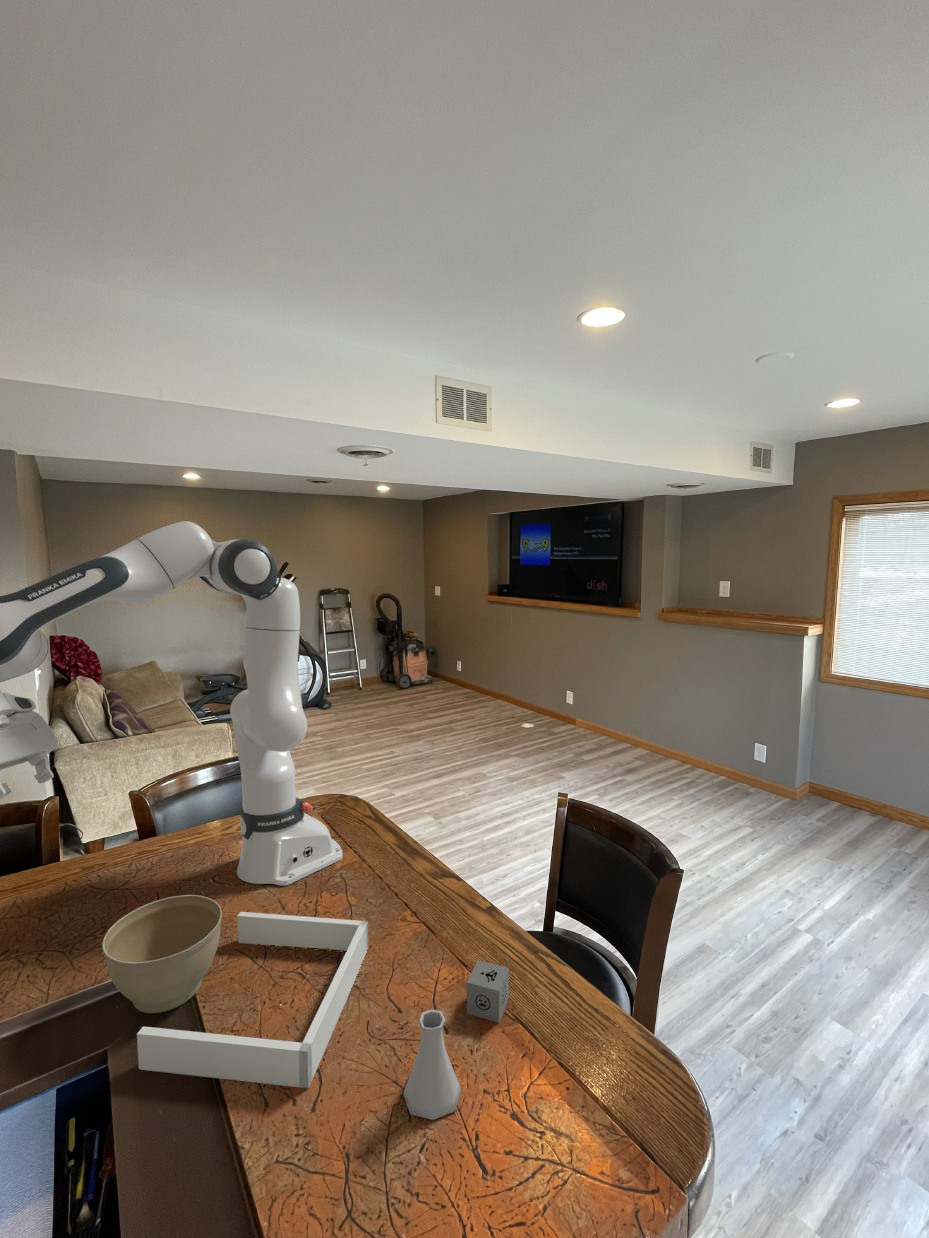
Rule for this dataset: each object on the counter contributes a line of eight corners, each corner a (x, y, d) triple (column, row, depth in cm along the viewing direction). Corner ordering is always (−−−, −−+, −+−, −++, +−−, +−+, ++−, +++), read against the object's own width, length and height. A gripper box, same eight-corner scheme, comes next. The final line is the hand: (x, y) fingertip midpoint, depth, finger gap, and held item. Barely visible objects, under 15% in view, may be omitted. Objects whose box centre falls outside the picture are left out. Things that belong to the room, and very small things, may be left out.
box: (138, 1069, 73) (136, 1033, 73) (241, 938, 100) (240, 911, 99) (308, 1088, 71) (307, 1051, 70) (368, 948, 97) (368, 921, 96)
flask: (403, 1070, 73) (403, 998, 73) (459, 1066, 74) (458, 995, 73) (402, 1124, 66) (401, 1045, 65) (463, 1119, 67) (463, 1041, 66)
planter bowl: (92, 993, 87) (88, 926, 86) (199, 942, 98) (197, 883, 98) (126, 1054, 76) (122, 978, 75) (242, 989, 88) (239, 923, 87)
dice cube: (499, 1023, 81) (499, 990, 81) (466, 1013, 83) (466, 982, 82) (508, 998, 86) (508, 967, 85) (477, 990, 87) (477, 960, 87)
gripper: (-65, 714, 79) (-9, 795, 79) (39, 698, 99) (83, 762, 99) (-104, 740, 79) (-48, 821, 79) (8, 718, 99) (53, 783, 99)
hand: (26, 788), depth 89 cm, fingers open, 8 cm apart
